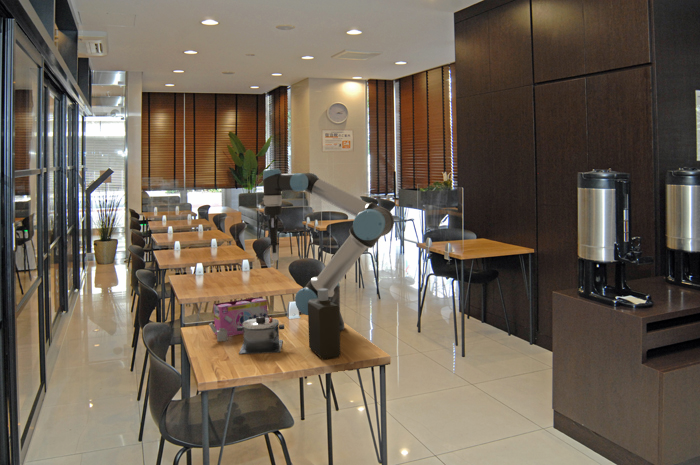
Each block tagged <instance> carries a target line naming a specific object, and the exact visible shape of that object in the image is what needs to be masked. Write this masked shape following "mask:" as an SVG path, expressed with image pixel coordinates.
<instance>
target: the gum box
mask: <svg viewBox="0 0 700 465" xmlns="http://www.w3.org/2000/svg"><path fill="white" fill-rule="evenodd" d="M268 313H269V312H268V300H267V299H265V298H263V297H262V296H258V297H250V298H244V299H237V300H232V301H230V300H229V301H223V302H217V303H213V321H214V323H213V325H214V326H215V328H216V330H217V331H218V330H220V329H219V328H225V330H227V337H231V336H232V337H233V336H236V335H237V336H239V335H243V330H242V331H237V327H238V326H243V322H244V321H247V320H250V319H255V318H256V317H259V316H264V317H265V318H269V314H268ZM214 335H216V336H217V332H215V333H214Z"/></svg>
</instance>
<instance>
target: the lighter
mask: <svg viewBox="0 0 700 465" xmlns="http://www.w3.org/2000/svg"><path fill="white" fill-rule="evenodd" d="M208 325H209V327H210V330H212V333H213V334H215V332H217V335H216V339H217V340H216V341H217V342H228V336H227V330H225V328H219V329H220V330H218V331H217V330H216V328H215V326H214V323H213V322H210V323H208Z"/></svg>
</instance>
